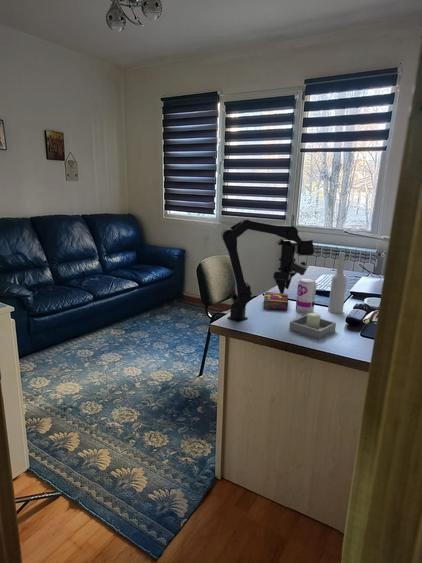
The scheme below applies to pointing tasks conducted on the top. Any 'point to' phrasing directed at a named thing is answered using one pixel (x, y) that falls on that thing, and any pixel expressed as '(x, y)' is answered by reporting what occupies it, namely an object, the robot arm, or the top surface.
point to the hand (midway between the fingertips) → (284, 291)
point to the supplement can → (305, 295)
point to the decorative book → (275, 301)
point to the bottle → (338, 288)
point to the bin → (324, 328)
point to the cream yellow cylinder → (313, 320)
